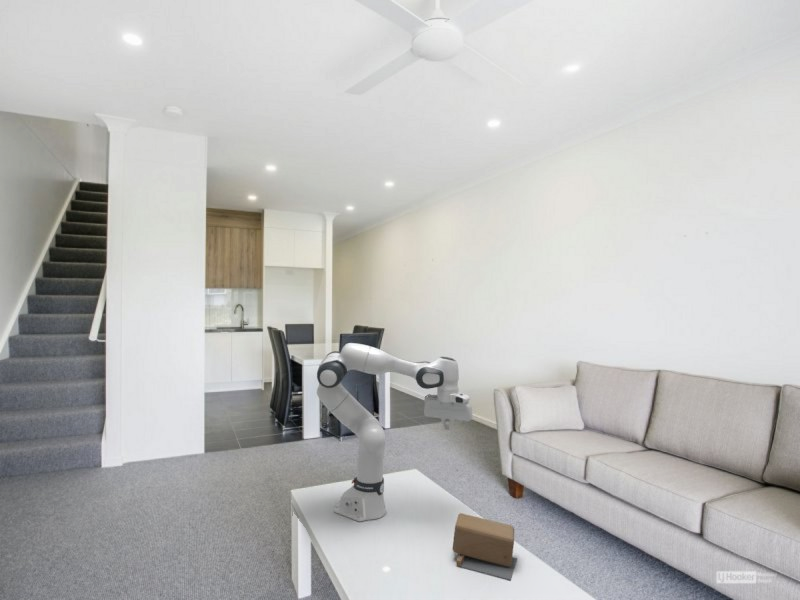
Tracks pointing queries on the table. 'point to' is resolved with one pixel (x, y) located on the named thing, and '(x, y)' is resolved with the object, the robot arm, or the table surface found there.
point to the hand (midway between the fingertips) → (447, 429)
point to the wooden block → (484, 539)
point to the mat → (486, 567)
